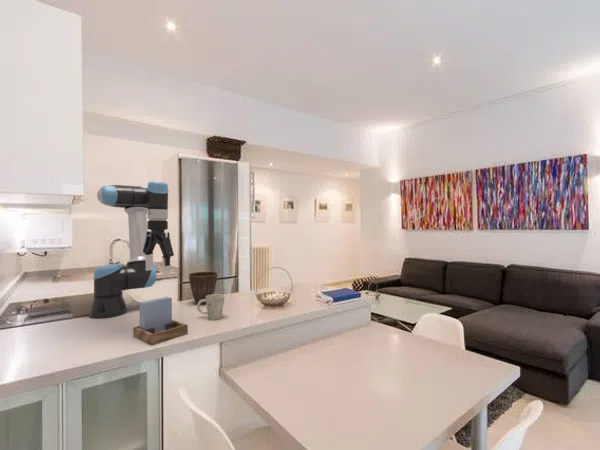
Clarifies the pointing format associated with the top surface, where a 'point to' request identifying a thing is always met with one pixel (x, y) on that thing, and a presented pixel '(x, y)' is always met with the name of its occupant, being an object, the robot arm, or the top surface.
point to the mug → (213, 306)
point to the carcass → (161, 333)
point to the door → (156, 313)
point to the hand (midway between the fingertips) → (157, 272)
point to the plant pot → (202, 285)
